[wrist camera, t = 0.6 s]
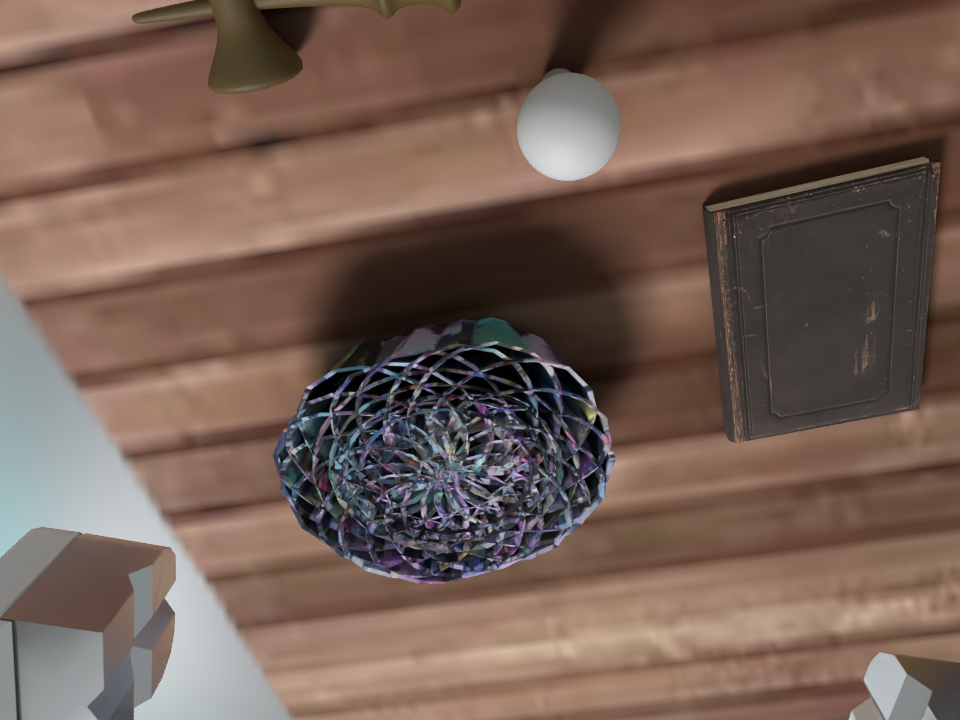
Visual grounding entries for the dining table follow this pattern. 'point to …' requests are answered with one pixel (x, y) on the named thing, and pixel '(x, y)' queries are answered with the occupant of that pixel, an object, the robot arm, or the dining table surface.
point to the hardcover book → (822, 298)
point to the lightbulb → (568, 125)
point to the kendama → (259, 37)
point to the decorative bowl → (445, 452)
